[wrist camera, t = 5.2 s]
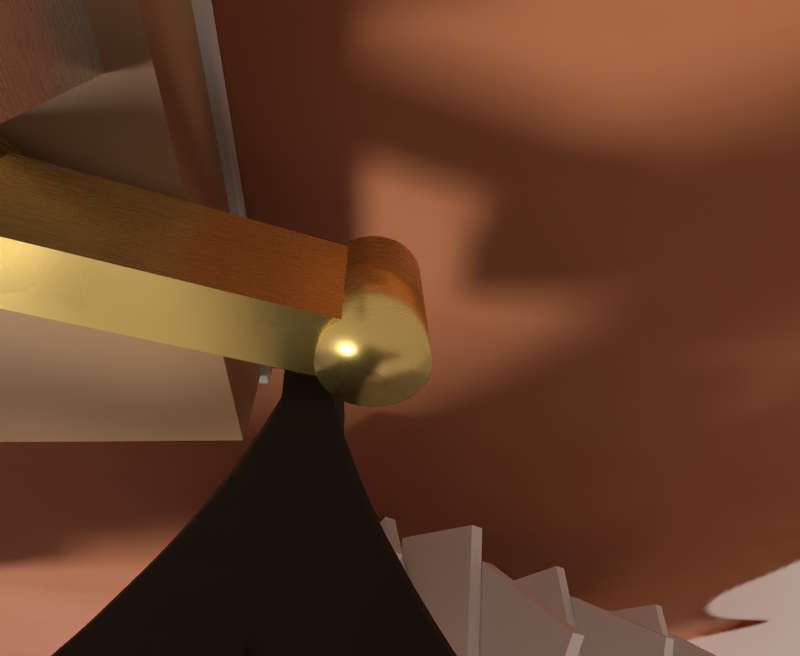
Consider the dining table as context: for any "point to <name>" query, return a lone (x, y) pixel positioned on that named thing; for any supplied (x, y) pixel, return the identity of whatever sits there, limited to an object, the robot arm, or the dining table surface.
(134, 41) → the tan flat board
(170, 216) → the lever
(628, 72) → the dining table surface
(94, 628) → the robot arm
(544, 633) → the spiral staircase
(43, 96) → the white block with knob
